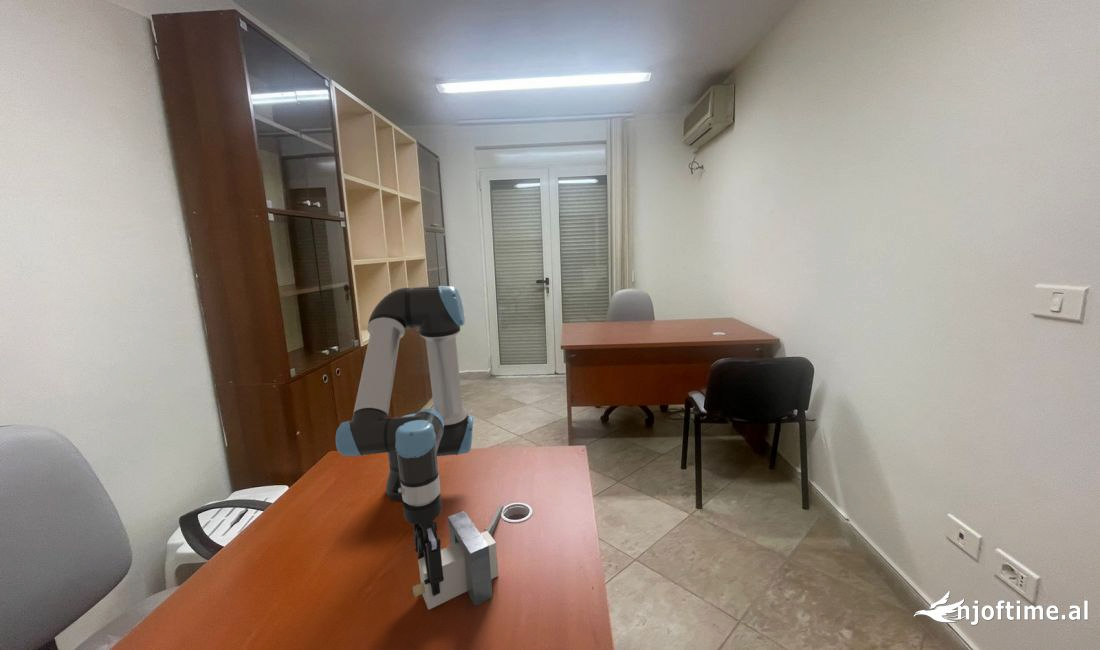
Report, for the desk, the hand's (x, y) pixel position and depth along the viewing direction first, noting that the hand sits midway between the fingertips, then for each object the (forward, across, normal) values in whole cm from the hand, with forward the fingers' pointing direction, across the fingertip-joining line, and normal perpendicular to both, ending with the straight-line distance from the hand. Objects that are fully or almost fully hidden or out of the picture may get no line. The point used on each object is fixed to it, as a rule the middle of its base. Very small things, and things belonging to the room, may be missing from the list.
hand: (432, 595), depth 88 cm
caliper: (+1, -13, +20) cm, 24 cm away
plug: (+1, 0, +6) cm, 7 cm away
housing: (+1, 0, +9) cm, 9 cm away
